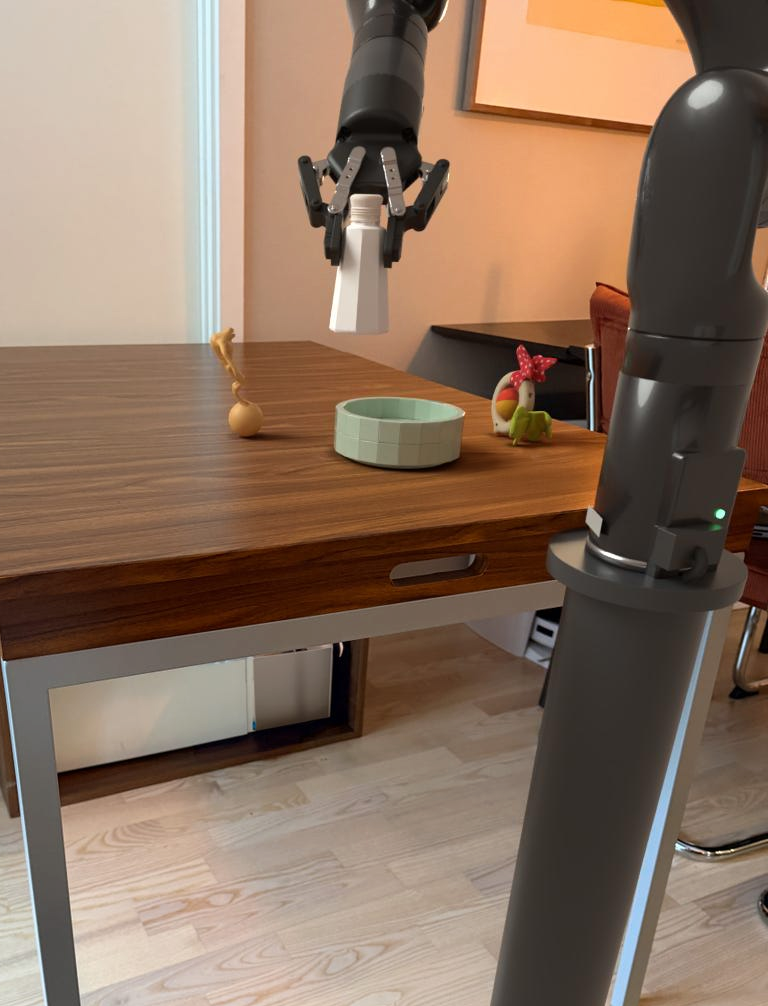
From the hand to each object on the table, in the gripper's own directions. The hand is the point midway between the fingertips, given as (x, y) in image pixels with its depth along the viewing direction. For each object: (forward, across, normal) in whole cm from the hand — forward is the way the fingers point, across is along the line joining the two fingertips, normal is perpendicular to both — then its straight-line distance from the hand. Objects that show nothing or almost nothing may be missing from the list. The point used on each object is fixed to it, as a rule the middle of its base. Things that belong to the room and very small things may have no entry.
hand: (361, 259), depth 74 cm
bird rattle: (-3, +17, +32) cm, 36 cm away
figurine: (+2, -15, +27) cm, 31 cm away
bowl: (+5, +4, +24) cm, 25 cm away
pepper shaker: (+3, 0, +6) cm, 7 cm away
